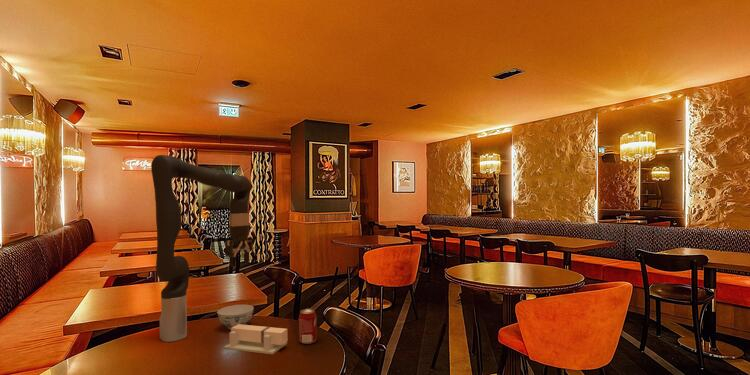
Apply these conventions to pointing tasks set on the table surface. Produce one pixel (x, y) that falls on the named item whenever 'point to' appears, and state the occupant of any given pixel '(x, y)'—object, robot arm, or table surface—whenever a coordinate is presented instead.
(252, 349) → the cream footed plank
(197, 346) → the table surface
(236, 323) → the chinaware
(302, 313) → the soda can
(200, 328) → the table surface
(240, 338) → the beige bar
